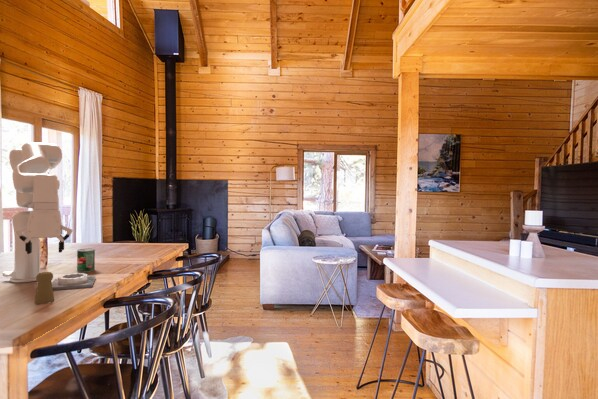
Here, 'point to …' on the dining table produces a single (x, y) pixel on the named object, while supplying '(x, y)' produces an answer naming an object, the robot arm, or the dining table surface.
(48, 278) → the olive tapered shaker
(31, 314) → the dining table surface
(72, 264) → the dining table surface
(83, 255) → the canned tomato
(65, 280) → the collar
